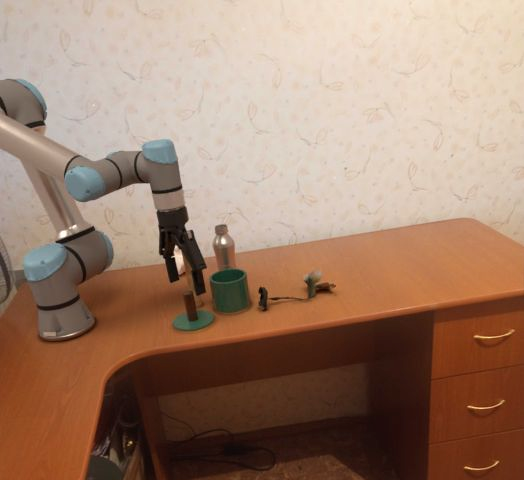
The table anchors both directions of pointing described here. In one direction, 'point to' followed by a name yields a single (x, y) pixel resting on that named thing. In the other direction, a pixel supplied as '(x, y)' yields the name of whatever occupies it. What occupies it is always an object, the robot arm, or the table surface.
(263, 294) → the artificial flower
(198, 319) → the lid
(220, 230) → the plastic bottle
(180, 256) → the bust
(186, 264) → the stick
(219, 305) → the pot
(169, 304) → the table surface
